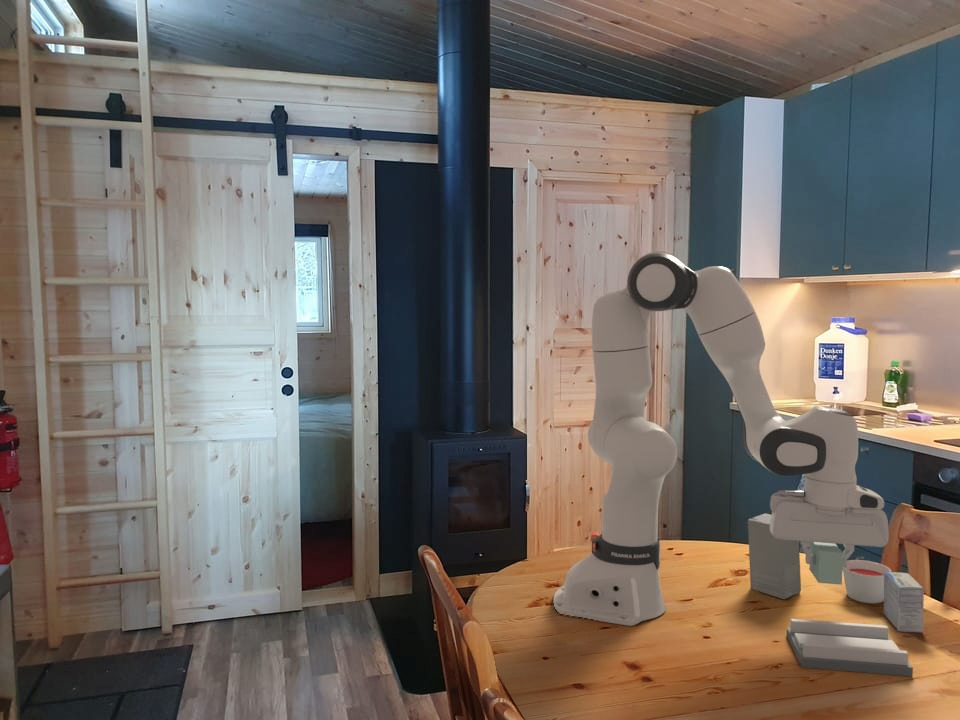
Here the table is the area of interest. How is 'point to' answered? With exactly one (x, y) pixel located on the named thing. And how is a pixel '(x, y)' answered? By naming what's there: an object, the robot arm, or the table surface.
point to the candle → (865, 580)
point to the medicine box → (903, 602)
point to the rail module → (827, 563)
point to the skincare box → (772, 560)
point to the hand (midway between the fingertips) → (825, 564)
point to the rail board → (847, 647)
